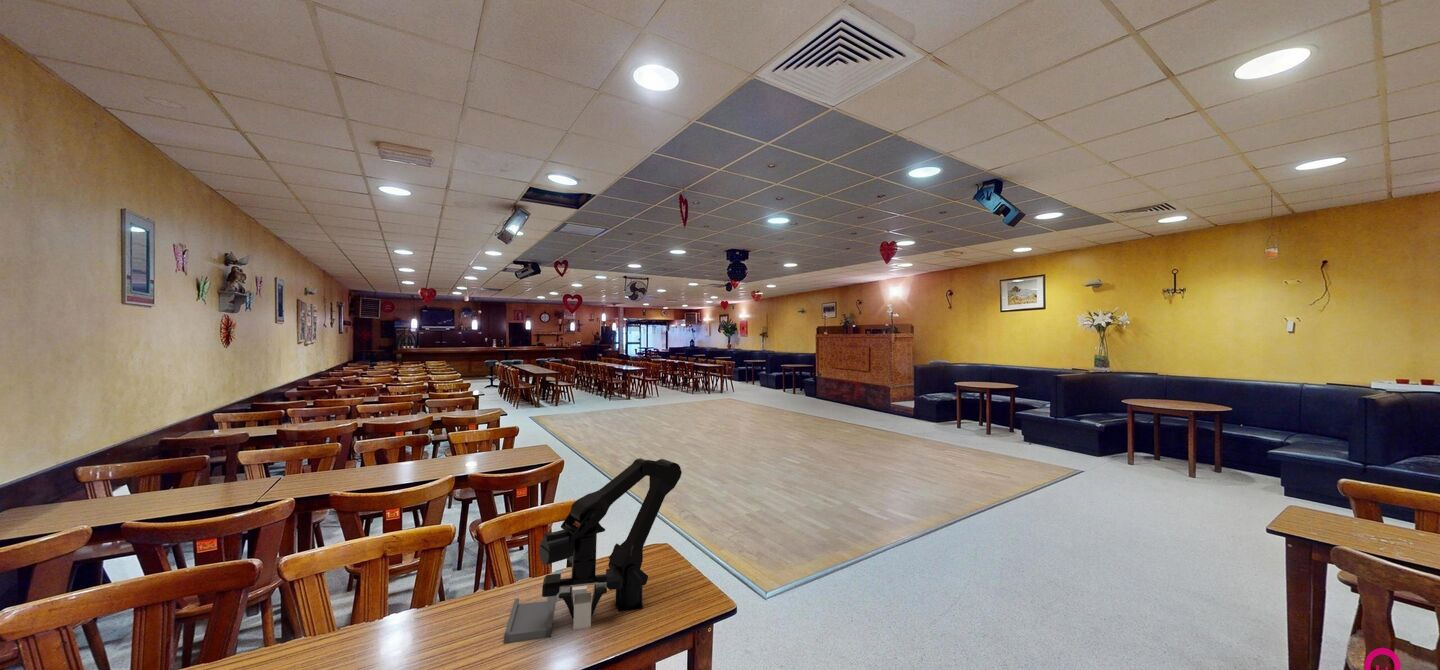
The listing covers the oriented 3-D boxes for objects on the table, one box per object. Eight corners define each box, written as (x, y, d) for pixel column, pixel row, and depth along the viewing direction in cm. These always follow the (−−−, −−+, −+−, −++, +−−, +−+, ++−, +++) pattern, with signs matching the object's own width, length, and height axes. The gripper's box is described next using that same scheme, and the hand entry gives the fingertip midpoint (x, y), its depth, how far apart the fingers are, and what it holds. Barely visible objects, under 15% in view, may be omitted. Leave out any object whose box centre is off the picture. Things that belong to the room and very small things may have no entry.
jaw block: (590, 616, 118) (591, 592, 118) (590, 627, 113) (591, 602, 113) (574, 618, 117) (574, 594, 117) (573, 630, 112) (574, 604, 112)
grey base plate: (555, 601, 124) (555, 594, 124) (550, 638, 109) (550, 629, 109) (514, 606, 121) (515, 598, 122) (503, 644, 106) (504, 635, 106)
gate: (587, 581, 135) (587, 567, 135) (586, 596, 127) (587, 581, 127) (550, 585, 132) (550, 571, 132) (547, 601, 124) (548, 586, 124)
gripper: (620, 536, 126) (619, 595, 125) (547, 542, 121) (545, 604, 120) (623, 554, 115) (621, 618, 114) (543, 561, 110) (540, 629, 109)
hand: (582, 616), depth 115 cm, fingers closed on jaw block, 4 cm apart
